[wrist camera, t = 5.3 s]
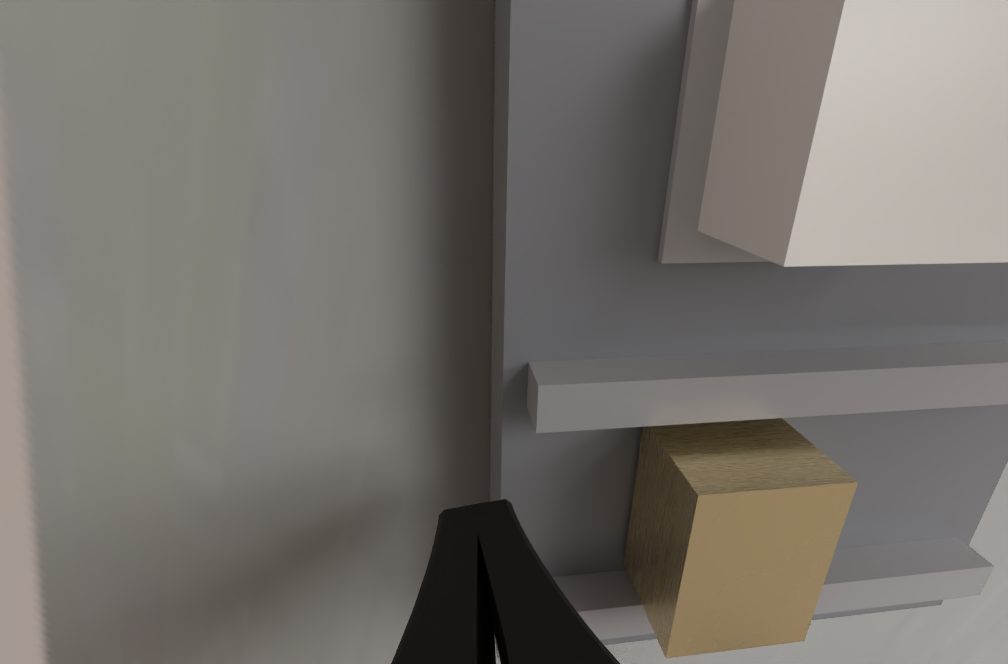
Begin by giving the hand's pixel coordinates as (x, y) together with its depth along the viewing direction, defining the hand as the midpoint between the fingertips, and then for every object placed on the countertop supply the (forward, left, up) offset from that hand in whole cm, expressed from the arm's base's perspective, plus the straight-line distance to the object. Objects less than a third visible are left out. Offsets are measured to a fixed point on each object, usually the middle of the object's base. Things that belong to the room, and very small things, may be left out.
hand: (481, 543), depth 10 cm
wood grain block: (-5, 0, -1) cm, 5 cm away
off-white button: (-6, -8, -1) cm, 10 cm away
